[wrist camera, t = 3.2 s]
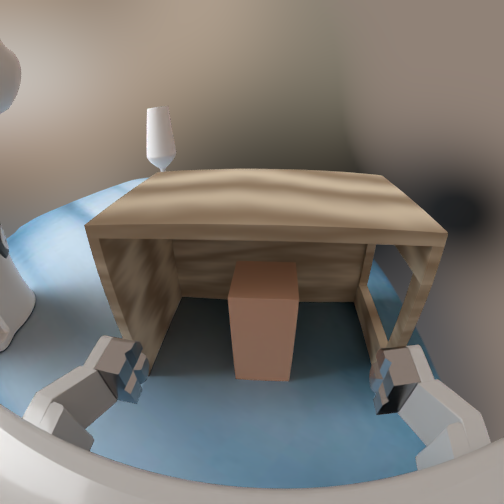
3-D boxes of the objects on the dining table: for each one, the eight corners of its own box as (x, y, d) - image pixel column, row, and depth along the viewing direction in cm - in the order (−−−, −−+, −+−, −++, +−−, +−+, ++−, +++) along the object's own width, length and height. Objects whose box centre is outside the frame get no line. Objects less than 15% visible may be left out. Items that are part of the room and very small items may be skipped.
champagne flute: (172, 200, 69) (164, 106, 58) (186, 206, 65) (178, 104, 53) (149, 208, 65) (138, 110, 54) (162, 215, 61) (150, 107, 49)
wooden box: (385, 385, 23) (448, 233, 15) (139, 374, 25) (84, 225, 17) (359, 297, 35) (381, 175, 27) (177, 291, 37) (157, 172, 29)
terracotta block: (289, 381, 24) (299, 299, 20) (235, 378, 25) (227, 297, 20) (288, 343, 29) (295, 262, 24) (241, 341, 29) (236, 260, 24)
